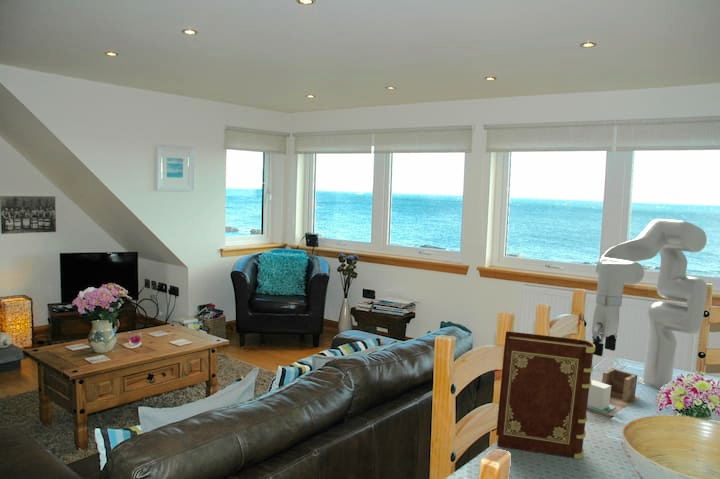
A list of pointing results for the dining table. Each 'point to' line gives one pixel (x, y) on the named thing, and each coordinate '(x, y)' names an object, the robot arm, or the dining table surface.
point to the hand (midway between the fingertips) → (603, 352)
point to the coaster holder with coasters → (617, 391)
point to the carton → (599, 395)
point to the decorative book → (544, 394)
